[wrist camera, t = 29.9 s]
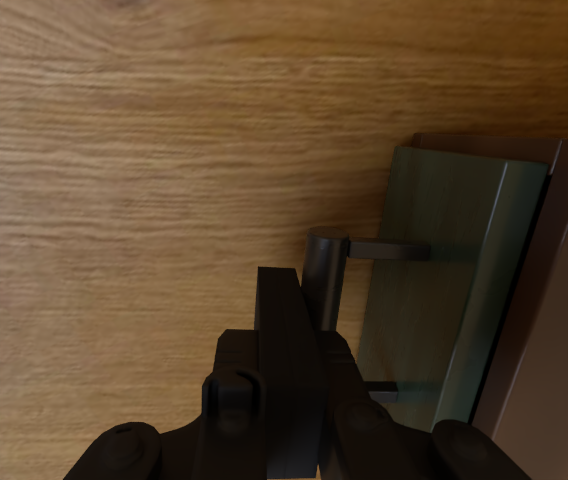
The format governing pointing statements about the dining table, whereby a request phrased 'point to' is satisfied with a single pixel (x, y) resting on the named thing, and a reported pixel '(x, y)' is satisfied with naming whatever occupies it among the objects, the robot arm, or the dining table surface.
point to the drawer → (432, 278)
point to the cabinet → (529, 320)
